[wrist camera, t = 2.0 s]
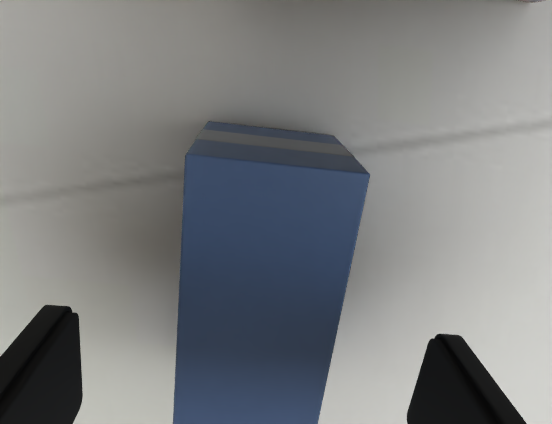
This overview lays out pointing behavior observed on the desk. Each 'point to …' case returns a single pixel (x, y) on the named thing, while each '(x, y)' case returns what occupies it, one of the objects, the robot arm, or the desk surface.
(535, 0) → the walnut crate
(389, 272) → the desk surface
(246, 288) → the block
